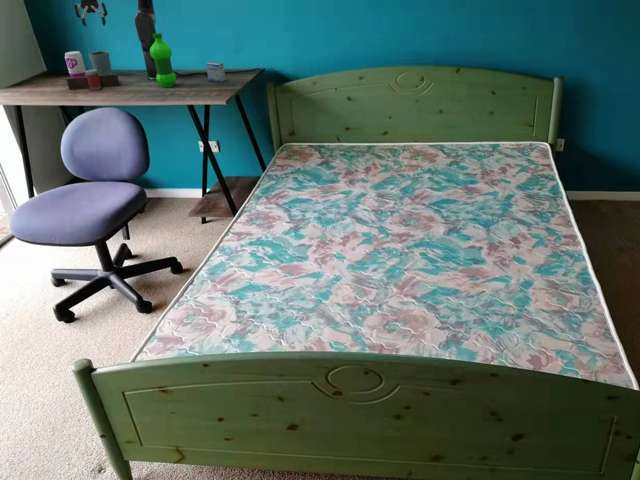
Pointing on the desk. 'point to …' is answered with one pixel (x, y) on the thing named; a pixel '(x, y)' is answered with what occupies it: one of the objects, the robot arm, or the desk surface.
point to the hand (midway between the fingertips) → (95, 25)
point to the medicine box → (215, 72)
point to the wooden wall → (83, 83)
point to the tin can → (93, 79)
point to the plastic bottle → (162, 61)
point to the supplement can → (75, 64)
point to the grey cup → (101, 62)
